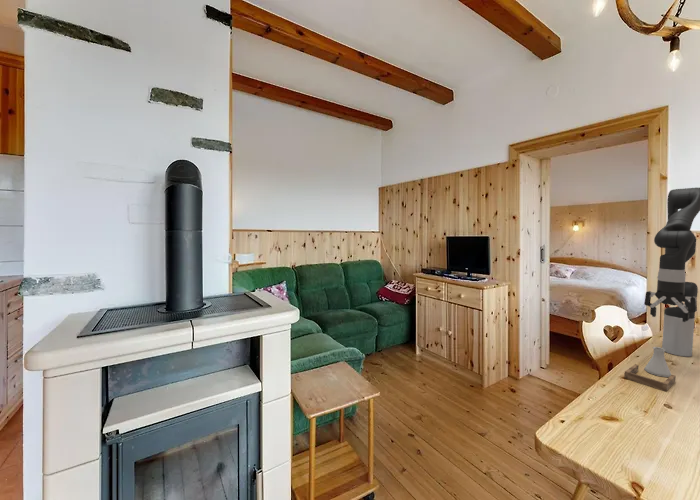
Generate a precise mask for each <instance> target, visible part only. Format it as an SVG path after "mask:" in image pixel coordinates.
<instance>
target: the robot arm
mask: <svg viewBox="0 0 700 500" xmlns="http://www.w3.org/2000/svg"><path fill="white" fill-rule="evenodd" d="M666 202H667V209H666V210H667V222H666V224H665V225H664V226H663V227H662V228H661V229H660V230H659V231H658V232H657V233H656V234H655V236H654V240H653V241H654V242H653V243H654V244H655V246H657V247H658V248H662V249H664V254H661V255H660V257H659V264H658V265H659V266H658V267H659V268H658V273H657V277H656V279H657V285H656V287H657V288H656V292H653V291H651V290H648V291H646V292H645V296H644V297H645V298H644V305H645V306H648V307H649V308H650V312H649V313H650V315H651V316H652V317H651V318H656V317H657V306H658V305H660V304H663V305H670V306H671V307H665V309H664V310H663V311H664V312H663V327H662V328H663V330H662V341H661V342H662V343H661V348H663V349H665V350H666V351H664V353H667V354H672V355H674V356H680V357H692V356H693V348H694V347H693V344H694V332H695V330H694V329H695V317H696V316H695V315H696V313H697V310H698V307H697V306H698V303H697V302H698V301H697V298H698V293H699V291H698V290H699V289H698V285H697V283H695V282H692V281H686V263H687V262H688V261H690V259H691V258H693V256H694V255H695V254H696V252H697V251H696V248H697V237H696V235H695V234H694V233H693V231H692V230H691V228H692V225H693V222H694V220H695V218H696V217H697V216H698V214H699V213H700V187H687V188H686V187H685V188H675V189H671V190H669V192H668V194H667V201H666ZM654 296H655V297H656V298H657V300H656V301H654V302H653V303H652V302H651V298H652V297H654Z"/></svg>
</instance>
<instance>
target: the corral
mask: <svg viewBox="0 0 700 500" xmlns="http://www.w3.org/2000/svg"><path fill="white" fill-rule="evenodd" d="M638 372H639V364H636V363H635V364H633V365H632V366H631V367H629V368H628V369H626V370H625V371H624V372H623V373H624V377H623V378H624V379H627V380H629V381H631V382H636V383H639V384H642V385H645V386H647V387H650V388H654V389H657V390H661V391H664V392H667V391H668V390H669V389H670V388H671V387H672V386H673V385H674V384H675V383H676V375H675V374H671V376H670V377H667V378H666V379H665V380H664V381H660V380H657V379H653V378H651V377H650V378H649V377H646V376H643V375H640V374H638Z"/></svg>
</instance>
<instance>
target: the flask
mask: <svg viewBox="0 0 700 500" xmlns="http://www.w3.org/2000/svg"><path fill="white" fill-rule="evenodd" d="M652 349H653V353H652V356H651V358H650V359H649V361H648V362H647V364H646V365H645V367H644V368H643V370H644V371H645V372H646V373H649V374H651V375H654V376H658V377H662V378H669V377H670V376H671V375H672V373H671V370H670V368H669V366H668V364H667V361H666V358H665V351H666V350H665V349H663V348H662V347H659V346H653V347H652Z"/></svg>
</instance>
